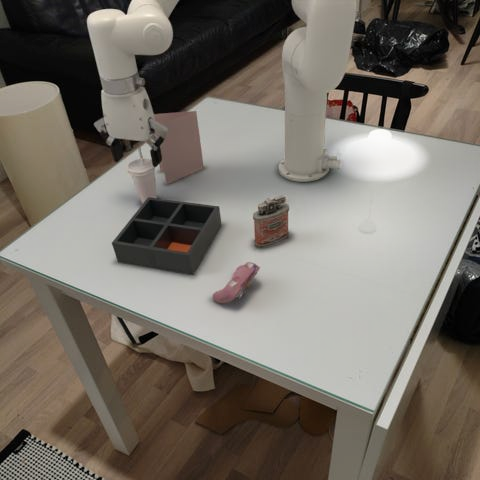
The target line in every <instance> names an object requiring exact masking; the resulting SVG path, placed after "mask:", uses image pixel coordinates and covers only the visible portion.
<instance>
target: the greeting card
mask: <svg viewBox="0 0 480 480" xmlns="http://www.w3.org/2000/svg"><path fill="white" fill-rule="evenodd" d="M154 117H155V121H157V122H159V123H160V124H162V125H164V126H165V127H167V128H168V133H167V136H166V139H165V141H164V142H163V143H162V144H161V145H160V148H161V154H162V161H161V162H160V163H159V165H158V166H159V171H160V172H162V173H164V178H165V184H166V185H168V184H170V183H173V182H175V181H178V180H180V179H182V178H185V177H187V176H189V175H192V174H194V173H196V172H199V171H202V170H203V169H205V166H204V158H203V151H202V150H203V149H202V143H201V137H200V136H201V135H200V129H199V121H198V113H197V110H192V111H179V112H167V113H154ZM155 134H156V136H157V137H158V138H159V135H160V134H159V132H158V131H156V132H155Z"/></svg>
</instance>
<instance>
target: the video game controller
mask: <svg viewBox="0 0 480 480" xmlns="http://www.w3.org/2000/svg"><path fill="white" fill-rule="evenodd" d="M260 269H261V267H260V266H259V265H258V264H257V263H255V262H253V261H247V262H246V263H244V264H241V265H239V266H237V267H236V269H235V271H234V273H233V276H232V277H231V278H230V279H229V281H228V282H227V283H226V285H225V286H224V287H223V288H221V289H219V290H217V291H215V292H213V294H212V299H213V301H214V302H215V303H218V304H227V303H229V302H232V301H234V300H236V299H237V298H238V299H241V297H242V296H243V292H242V291H243V290H245V289H246V288H249V286H250V283H251V281H252V280H253V279H254V278H255V277H256V275H257V274H258V272H259V270H260Z"/></svg>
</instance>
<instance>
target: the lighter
mask: <svg viewBox="0 0 480 480" xmlns="http://www.w3.org/2000/svg"><path fill="white" fill-rule="evenodd" d="M286 201H287V197H286V195H284V194H282V195H279V196H276V197H273V198H272V199H271V198H269V197H268V198H265V199H264V201H262V202H260V203H258V204H257V210H256V211H254V212H253V214H252V219H253V225H254V226H253V227H254V228H253V229H254V241H253V242H254V247H255V248H256V249H265V248H269V247H272V246H275V245H278V244H280V243H282V242H284V241H286V240H287V239H289V237H290V232H289V211H290V205H289V204H288V203H286Z"/></svg>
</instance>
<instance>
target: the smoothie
mask: <svg viewBox="0 0 480 480" xmlns="http://www.w3.org/2000/svg"><path fill="white" fill-rule="evenodd" d="M137 150H138V154H139V158H137V159H134V160H131V162H129V163H128V164H127V166H126V168H127V173H128V174H129V175H130V177H131V179H132V182H133V185H134V186H135V189H136V191H137V194H138V197H139V200H140V202H141V205H142V204H143V203H144V202H145V201H146V199H147V198H148V197H151V198H158V194H157V193H158V192H157V184H156V182H157V181H156V168H157V167H154V166H153V164H152V159H150V158H144V157H143V153H142V149H141V146H137Z"/></svg>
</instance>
